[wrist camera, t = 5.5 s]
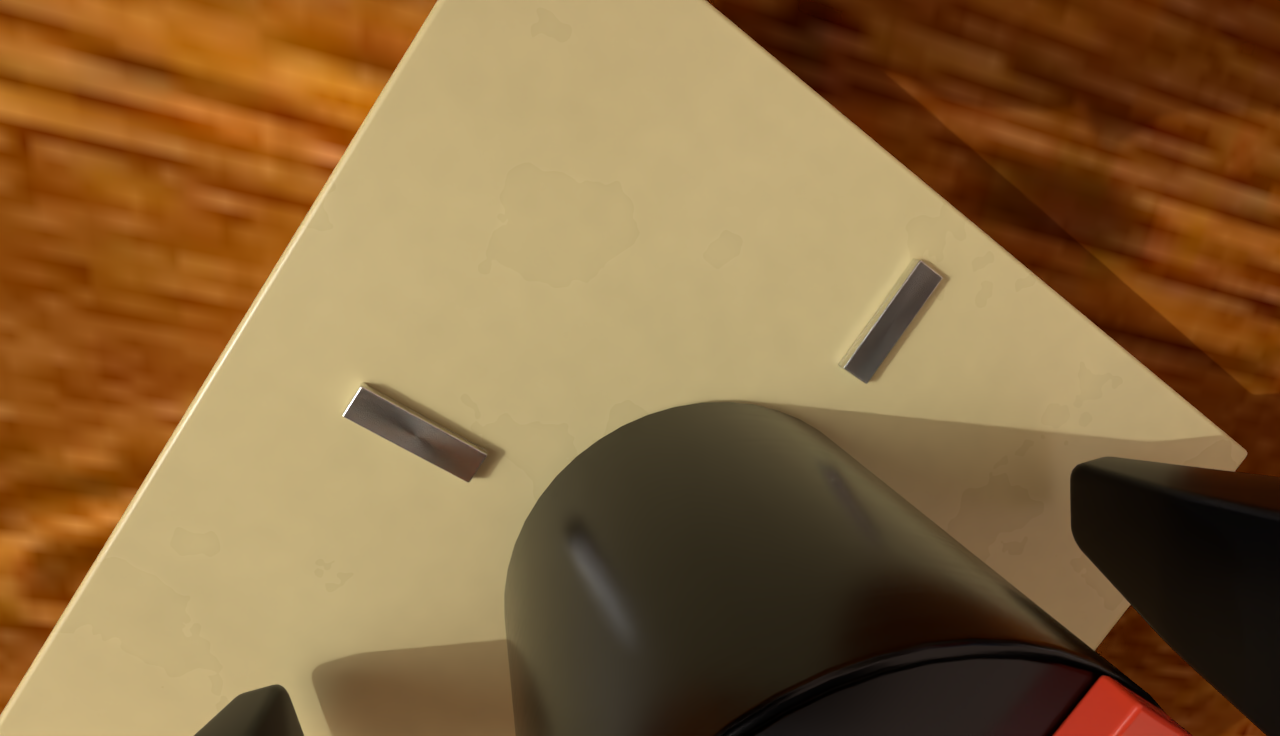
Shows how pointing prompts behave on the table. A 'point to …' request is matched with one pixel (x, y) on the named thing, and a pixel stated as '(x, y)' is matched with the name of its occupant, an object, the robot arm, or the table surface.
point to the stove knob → (777, 602)
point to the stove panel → (574, 372)
